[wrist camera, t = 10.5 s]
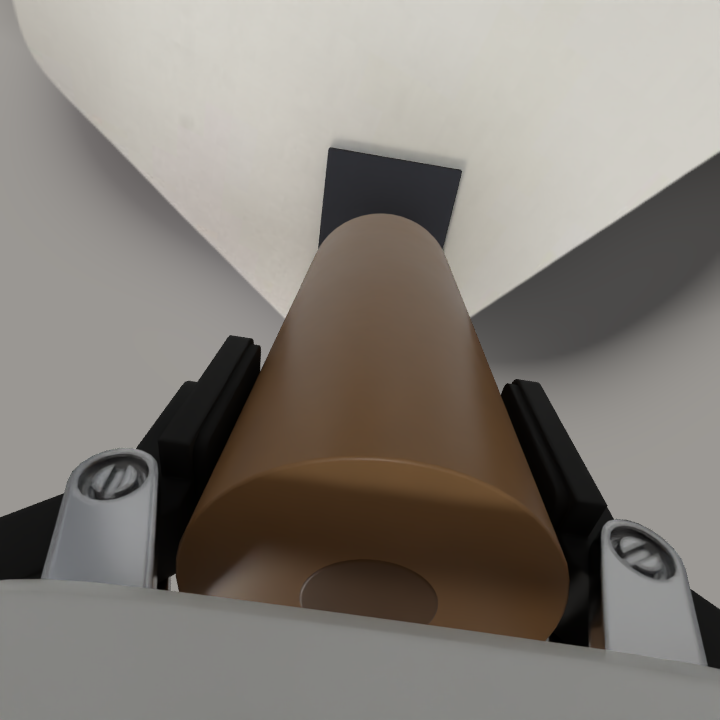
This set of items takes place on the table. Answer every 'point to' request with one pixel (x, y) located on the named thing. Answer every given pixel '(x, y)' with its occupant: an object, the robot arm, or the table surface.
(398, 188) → the mat
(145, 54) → the table surface
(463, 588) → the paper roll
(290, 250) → the table surface
